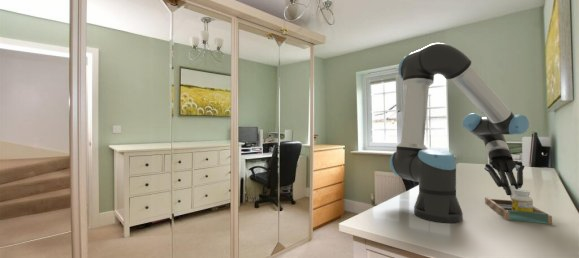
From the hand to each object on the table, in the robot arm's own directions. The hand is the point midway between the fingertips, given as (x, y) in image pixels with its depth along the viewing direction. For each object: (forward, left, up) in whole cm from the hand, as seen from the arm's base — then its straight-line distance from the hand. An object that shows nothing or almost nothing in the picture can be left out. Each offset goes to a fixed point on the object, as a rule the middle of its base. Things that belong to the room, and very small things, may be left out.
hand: (516, 202), depth 94 cm
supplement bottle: (+1, -5, -4) cm, 7 cm away
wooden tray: (0, +2, -4) cm, 4 cm away
